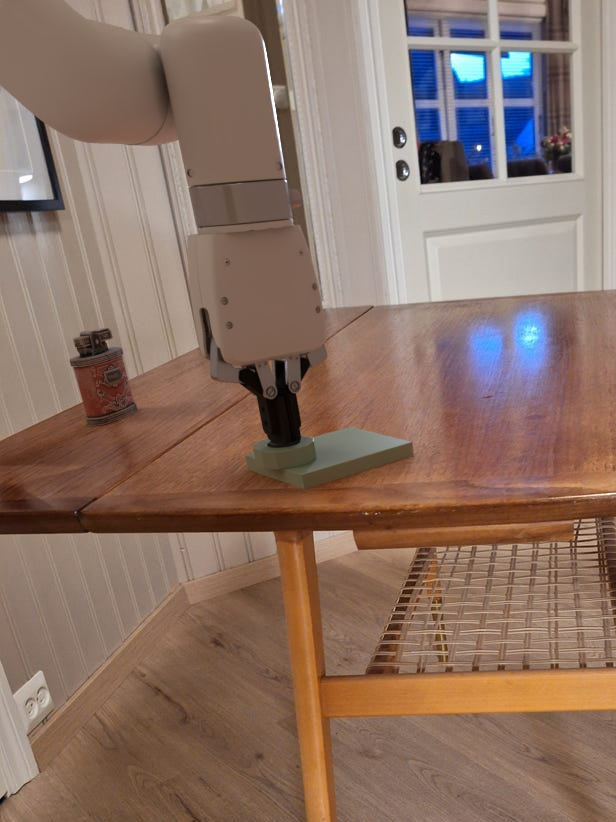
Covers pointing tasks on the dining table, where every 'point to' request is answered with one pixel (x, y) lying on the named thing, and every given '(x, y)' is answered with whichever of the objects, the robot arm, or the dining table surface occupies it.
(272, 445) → the button
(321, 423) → the dining table surface
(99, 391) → the lighter
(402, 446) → the scale
